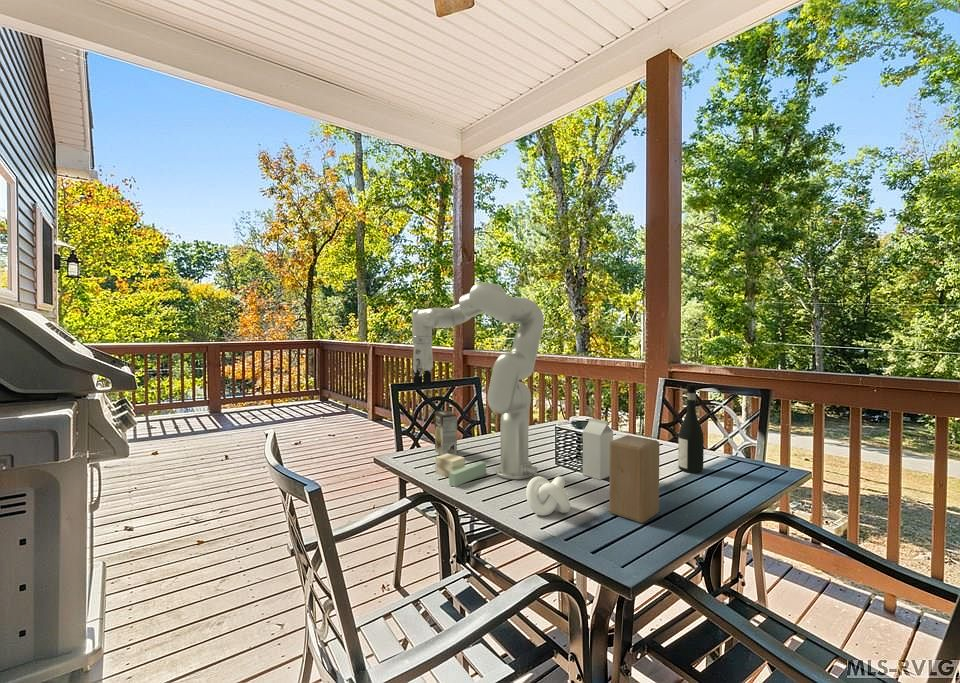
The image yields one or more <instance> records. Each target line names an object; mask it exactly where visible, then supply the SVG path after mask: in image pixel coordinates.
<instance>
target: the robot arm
mask: <svg viewBox="0 0 960 683" xmlns="http://www.w3.org/2000/svg"><path fill="white" fill-rule="evenodd" d="M484 313H485V314H487V315H488V316H491V317H492V318H494V319H495V320H497V321H500V322H501V323H504V324H505V323H506V324H519V326H518V329H517V330H516V332H515V335H514V338H513V343H512V347H511V350H510V351H509V352H504V353H501V354H500V355H499V356H498V357H497V358H496V360H495V361H494V364H493V367H492V372H491V377H490V381H489V385H488V391H487V396H486V397H487V400H486V401H487V405H488V407H489V408H490V410H491V411H492V412H494V413H496V414H498V415H501V416H500V466H498V467H497V468H496V470H495V472H496V473H495V474H496V475H497V476H498V477H500V478H502V479H508V480H523V479H524V480H525V479H528V478H530V477H532V476H533V475H537V473H538V466H534V465H533V464H532V460H529V459H530V458H529V457H530V456H529V455H530V454H529V428H530V427H529V420H530V417H529V416H530V408H531V401H532V394H531V391H530V389H529V386H527V384H526V383H524V382H523V381H522V382H521V380H524V379H527V378H529V377H531V375H533V373H534V370H535V369H534V368H535V365H536V360H537V356H538V351H539V346H540V342H541V339H542V334H543V330H544V323H545V319H544V318H545V317H544V314H543V311H542V309H541V308H540V306H539V305H538V304H537V303H536V302H534V301H533V300H531V299H529V298H526V297H517V296H510V295H507V294H506V291H505V289H504V288H503V286H501V285H499V284H496V283H492V282H491V283H490V282H484V281H483V282H479V283H478V282H477V283H476V284H474V285H473V286H472V287H471V288H470V291H469V292H468V293H465V294H462V295H461V296H460V298H459V300H458V304H456V305H453V306H451V307H447V308H445V307H430V308H415V309H413V310H412V315H411V317H412V318H411V320H412V345H413V354H412V355H413V357H412V360H413V361H412V364H413V365H412V369H413V371H412V372H413V386H414V387H417V388H418V387H419V388H422V387H423V384H431V383H432V369H433V368H434V358H433V357H434V356H433V346H432V345H433V329H439V328H441V329H442V328H443V329H444V328H445V329H446V328H447V329H448V328H449V329H450V328H453V327H455V326H458V325H461V324H464V323H466V322H468V321H469V320H471V319H472V318H473V317H476V316H478V315H482V314H484Z"/></svg>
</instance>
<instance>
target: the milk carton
mask: <svg viewBox="0 0 960 683" xmlns="http://www.w3.org/2000/svg"><path fill="white" fill-rule="evenodd" d="M612 440H614V431H613V430H612V429H611V427H610V426H609V425H608V420H602V419H597V418H592V417H589V418H588V422H587V424H586V426H585V427H584V428H583V431H582V475H583V476H586V477H590V478H593V479H596V480H599V481H601V480H604V479H607V478H610V442H611V441H612Z"/></svg>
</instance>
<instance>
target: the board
mask: <svg viewBox="0 0 960 683" xmlns="http://www.w3.org/2000/svg"><path fill="white" fill-rule="evenodd" d="M485 475H487V462H486V461H482V460H479V461H477V462H474V463H471V464H469V465H467V466H466V465H465V467H463V468H461V469H458V470H455V471H453V472H450V473H449V478H448V479H449V480H448V483H449V484H448V486H451V487H454V488H455V487H458V486H461V485H463V484H465V483H467V482H470V481H472V480H475V479H478V478H480V477H482V476H485Z"/></svg>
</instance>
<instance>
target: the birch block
mask: <svg viewBox="0 0 960 683" xmlns="http://www.w3.org/2000/svg"><path fill="white" fill-rule="evenodd" d="M465 462H466V460H465V457H464V456H462V455H461V456H460V455H452V454H448V453H447V454H444V455H439V456H438V455H437V456H436V457H435V475H436V474H438V475H437V476H440V475H442V476H441V477H443V476H445V477H444V478H447V477H448V478H447V479H449V473H450V472H453V471H455V470H458V469H461V468H463V467H466V465H465V464H466V463H465Z"/></svg>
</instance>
